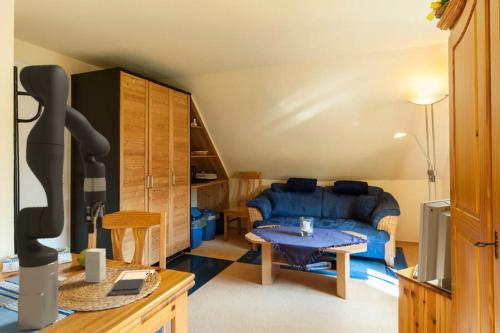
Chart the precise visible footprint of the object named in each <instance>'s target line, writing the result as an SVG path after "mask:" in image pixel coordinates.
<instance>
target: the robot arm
mask: <svg viewBox="0 0 500 333" xmlns="http://www.w3.org/2000/svg"><path fill="white" fill-rule="evenodd" d="M18 79H19V83H20V85H21V86H22V88H23V89H24V91H25V92H26V93H27V94H28V95H29V96H30V97H31V98H33V99H34V101H36V102H37V103H39V104H40V105H41V106H42V107H43V110H42V112H41V114H40V116H39V117H38V119H37V120H36V122H35V123H34V125H33V126H32V127H31V129H30V131H29V132H28V135H27V137H26V144H25V162H26V164H27V166H28V168H29V170H30V171H31V172H32V174H33V175H34V177H35V178H36V179H37V181H38V182H39V183H40V185H41V187H42V189H43V191H44V193H45V196H46V206H25V207H23V208H21V209H20V210H19V211H18V212H17V215H16V218H15V223H14V224H15V225H14V226H15V227H14V228H15V229H14V230H15V240H16V241H15V242H16V256H17V259H18V296H17V331H29V330H31V331H32V330H41V329H44V328H45V327H46V326H49V325H51V324H53V323H54V322H55V321H57V319H59V251H58V250H57V249H56V248H54V247H51V246H47V245H45V244H43V243H41V242H40V241H39V240H44V239H55V238H59V237H60V236H61V235H62V234H63V231H64V226H65V205H64V204H65V203H64V188H63V187H64V185H63V184H64V183H63V181H64V180H63V179H64V162H65V161H64V160H65V128H66V129H67V130H68V132H69V134H71V135H72V136H73V138H74V139H75V140H76V141H78V142H79V147H78V148H79V149H78V150H79V153H80V156H81V159H82V163H83V168H84V182H83V199H84V200H83V201H84V203H88V206H84V224H87V234H89V235H92V234H95V228H96V229H99V230H101V229H103V225H104V224H103V219H104V217H105V216H106V207H105V202H106V200H107V188H106V187H107V185H106V184H107V181H106V166H105V164H104V163H102V162H99V161H97V160H96V158H95V157H105V156H107V155H108V154H109V153H110V150H111V145H110V142H109V140H108V139H106V137H105V136H104V135H102V134H101V132H98V131H97V130H96V129H95V128H94V127H93V126H92V125H91V123H90V122H89V121H88V119H87V118H86V117H85V116H84V115H83V114H82V113H81V112H80V111H78V110H76V109H75V108H73V107H72V106H70V105H68V97H69V89H70V87H69V85H70V83H69V82H70V80H69V77H68V73H67V72H66V70H65V69H64V68H63V67H62V66H60V65H58V64H35V65H33V64H32V65H27V66H24V67H22V69H21V70H20V72H19V74H18ZM95 225H96V226H95Z"/></svg>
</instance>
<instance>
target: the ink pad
mask: <svg viewBox="0 0 500 333" xmlns="http://www.w3.org/2000/svg"><path fill="white" fill-rule="evenodd" d="M145 284H146V282H145V279H126V280H119V281H117V282H116V283H114V285H113V286H112V287H111V288H110V290H109V292H108V296H120V295H119V294H126V295H138V294H137V293H139V294H140V293H141V291H142V289H143V287H144V285H145Z"/></svg>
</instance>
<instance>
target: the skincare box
mask: <svg viewBox="0 0 500 333" xmlns="http://www.w3.org/2000/svg"><path fill="white" fill-rule="evenodd" d="M106 253H107V252H106V248H96V249H90V250H87V251H85V266H84V268H85V271H84V272H85V273H84V274H85V275H84V276H85V277H84V278H85V283H101V282H103V281H104V280H106V279H107V273H106V272H107V267H106V265H107V264H106V263H107V262H106V256H107V254H106Z"/></svg>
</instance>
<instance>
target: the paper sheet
mask: <svg viewBox="0 0 500 333" xmlns="http://www.w3.org/2000/svg"><path fill="white" fill-rule="evenodd" d="M155 270H156V269H140V270H139V269H138V270H122V272H121V273H120V274H119V276H118V277H117V278H116V279H115V281H114V282H113V284H116V282H117V281H119V280H126V279H145V280H146V279H147V277H148V275H149V273H152V274H153V275H154V273H155ZM147 273H148V274H147ZM146 274H147V275H146Z"/></svg>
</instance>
